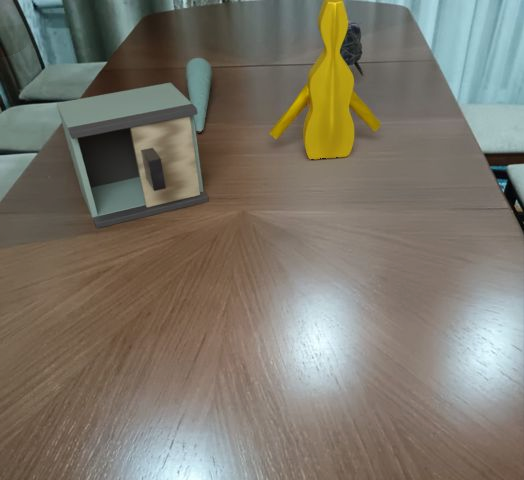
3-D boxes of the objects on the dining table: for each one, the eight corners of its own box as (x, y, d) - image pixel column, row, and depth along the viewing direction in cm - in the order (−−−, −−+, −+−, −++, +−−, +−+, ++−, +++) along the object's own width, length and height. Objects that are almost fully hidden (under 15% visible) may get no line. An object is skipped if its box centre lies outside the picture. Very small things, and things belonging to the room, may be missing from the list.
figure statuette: (376, 140, 94) (389, -16, 80) (387, 160, 89) (404, -4, 74) (268, 149, 94) (262, -6, 79) (273, 169, 88) (267, 6, 73)
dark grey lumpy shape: (363, 96, 111) (371, -27, 97) (305, 96, 112) (305, -24, 99) (363, 82, 117) (370, -35, 103) (307, 83, 118) (307, -32, 105)
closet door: (154, 220, 76) (138, 138, 69) (145, 205, 79) (129, 125, 72) (209, 207, 78) (199, 126, 71) (198, 192, 81) (188, 113, 74)
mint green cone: (180, 103, 96) (183, 58, 116) (184, 136, 100) (187, 87, 120) (212, 101, 97) (210, 56, 116) (215, 133, 100) (213, 85, 120)
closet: (96, 228, 77) (70, 132, 69) (81, 192, 86) (56, 103, 77) (208, 201, 81) (196, 108, 73) (183, 169, 90) (170, 82, 81)
